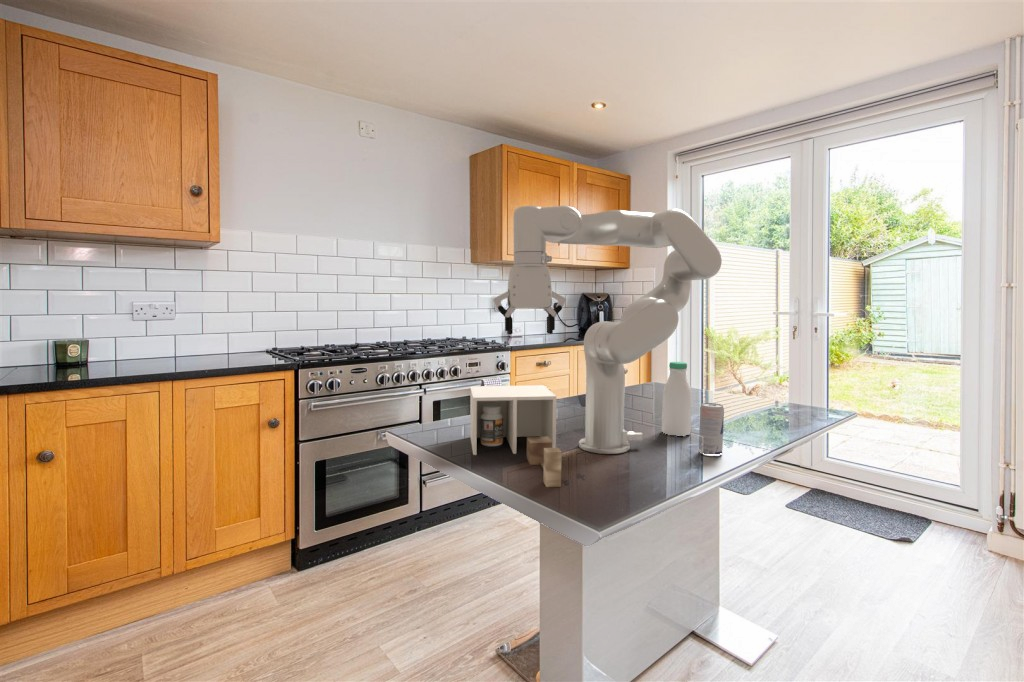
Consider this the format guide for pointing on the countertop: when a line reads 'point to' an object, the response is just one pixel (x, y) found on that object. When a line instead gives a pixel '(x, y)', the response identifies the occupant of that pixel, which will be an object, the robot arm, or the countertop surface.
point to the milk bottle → (677, 401)
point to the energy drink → (711, 428)
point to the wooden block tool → (545, 459)
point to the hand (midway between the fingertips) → (529, 333)
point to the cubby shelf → (515, 412)
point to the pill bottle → (491, 425)
